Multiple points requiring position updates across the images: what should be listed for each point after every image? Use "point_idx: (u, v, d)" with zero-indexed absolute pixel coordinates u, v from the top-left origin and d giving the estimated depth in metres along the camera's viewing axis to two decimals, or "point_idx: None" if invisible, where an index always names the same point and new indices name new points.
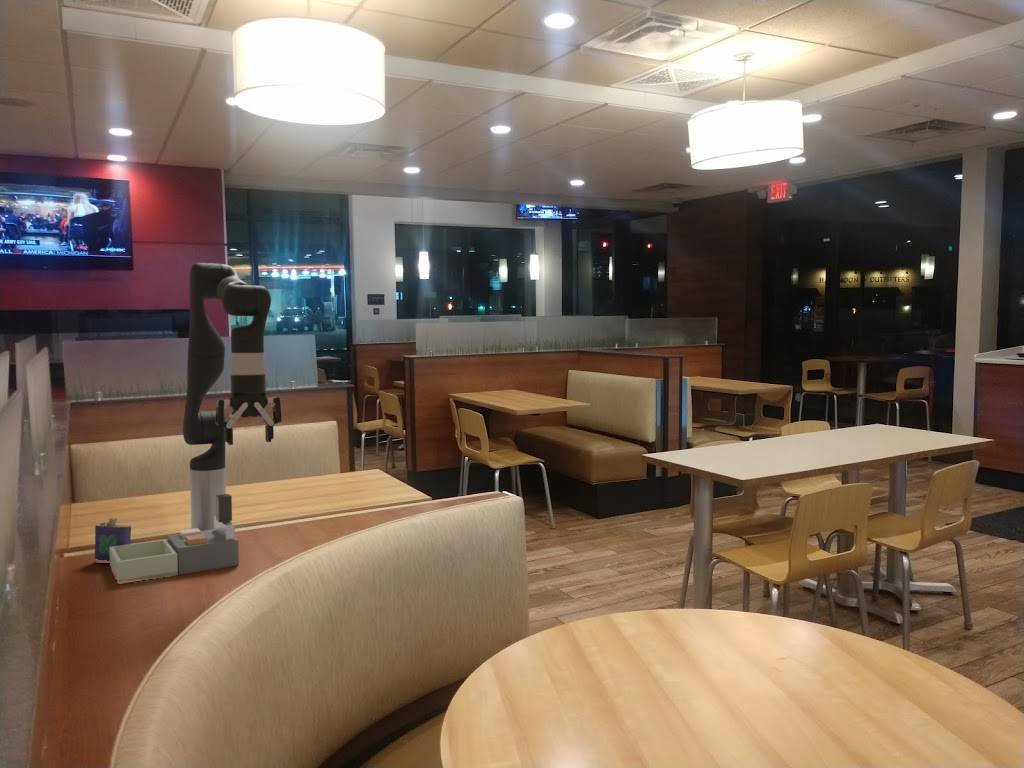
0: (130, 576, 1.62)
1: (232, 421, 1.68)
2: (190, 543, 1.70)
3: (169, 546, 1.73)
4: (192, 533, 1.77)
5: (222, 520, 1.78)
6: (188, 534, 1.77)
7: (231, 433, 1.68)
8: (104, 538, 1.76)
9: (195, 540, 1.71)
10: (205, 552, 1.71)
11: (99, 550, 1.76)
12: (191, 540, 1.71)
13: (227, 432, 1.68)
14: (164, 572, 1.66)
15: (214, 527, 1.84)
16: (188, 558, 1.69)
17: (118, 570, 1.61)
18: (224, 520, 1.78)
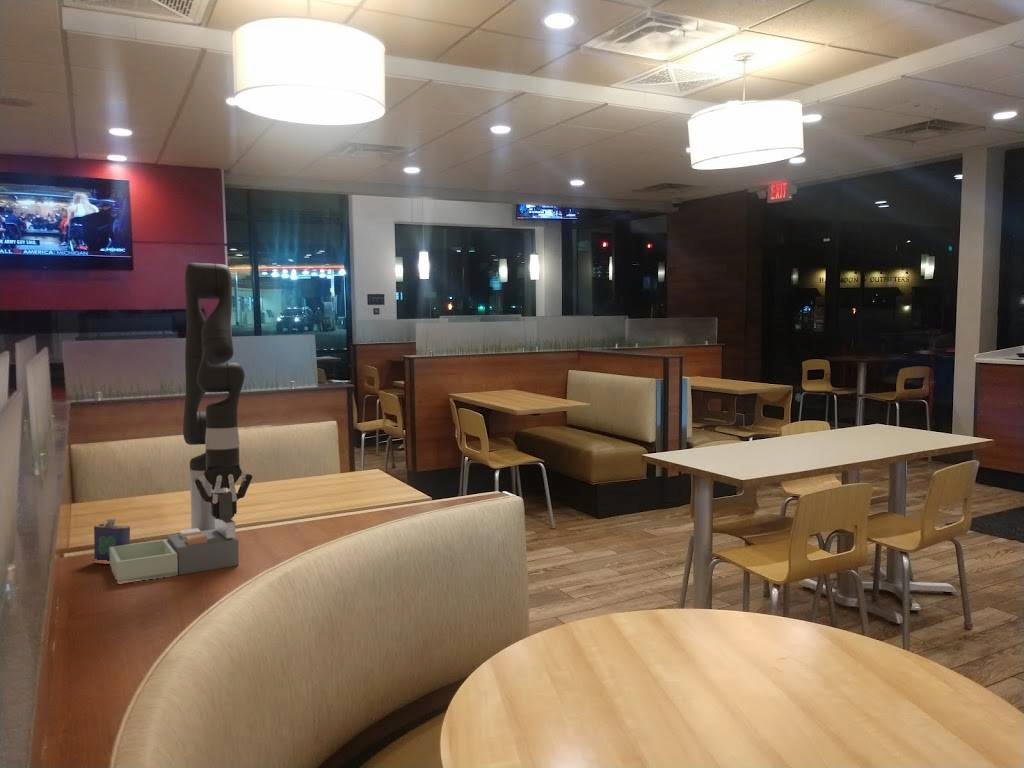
0: (130, 576, 1.62)
1: (216, 496, 1.77)
2: (190, 543, 1.70)
3: (169, 546, 1.73)
4: (192, 533, 1.77)
5: (223, 518, 1.78)
6: (188, 534, 1.77)
7: (217, 508, 1.78)
8: (103, 539, 1.76)
9: (195, 540, 1.71)
10: (205, 552, 1.71)
11: (98, 551, 1.76)
12: (191, 540, 1.71)
13: (213, 507, 1.78)
14: (164, 572, 1.66)
15: None
16: (188, 558, 1.69)
17: (118, 570, 1.61)
18: (225, 518, 1.78)
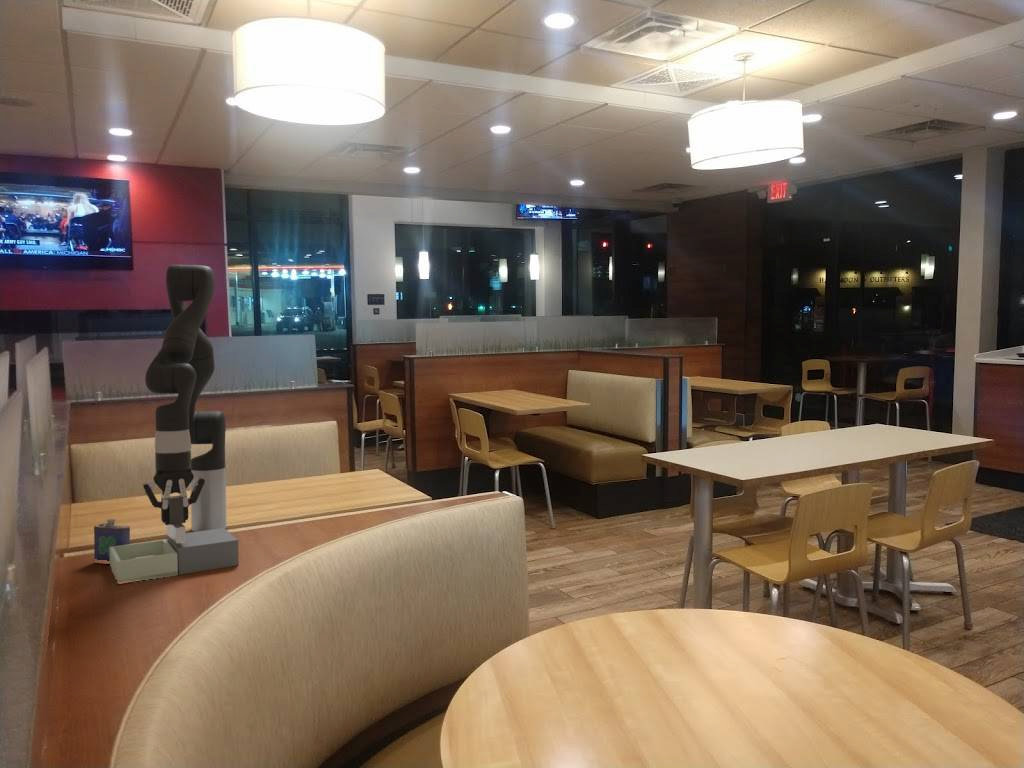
0: (130, 576, 1.62)
1: (166, 501, 1.71)
2: None
3: (169, 546, 1.73)
4: None
5: (173, 523, 1.71)
6: None
7: (167, 513, 1.72)
8: (103, 539, 1.76)
9: None
10: (205, 552, 1.71)
11: (98, 551, 1.76)
12: None
13: (163, 513, 1.71)
14: (164, 572, 1.66)
15: None
16: (188, 558, 1.69)
17: (118, 570, 1.61)
18: (175, 523, 1.72)
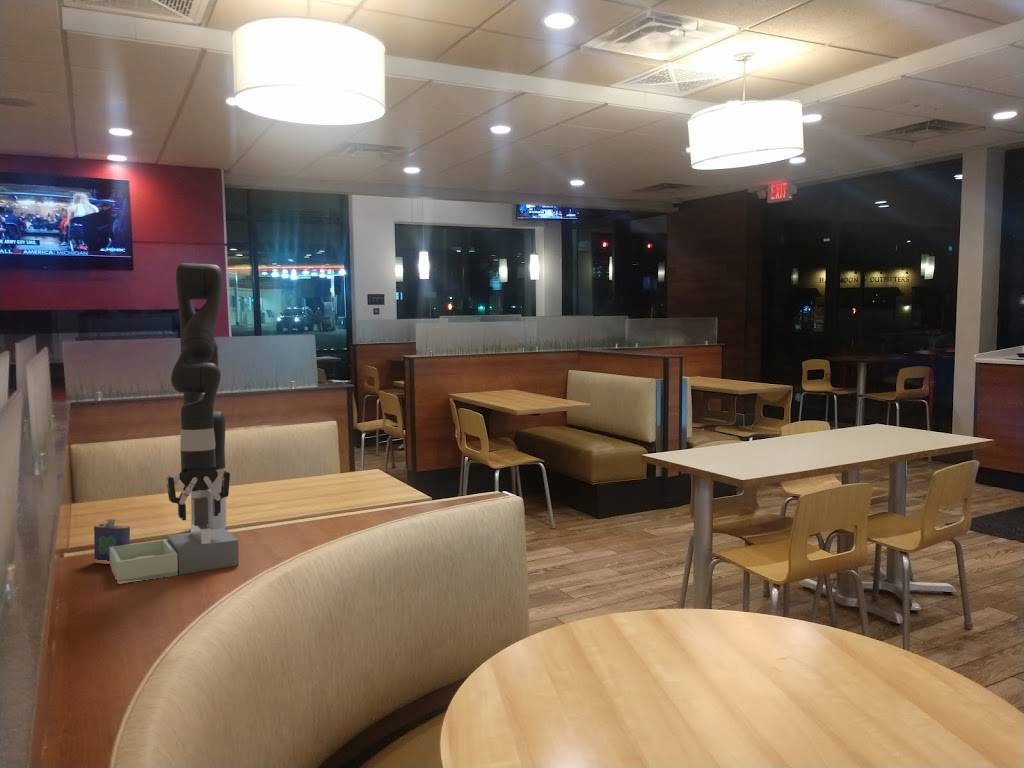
0: (130, 576, 1.62)
1: (184, 497, 1.73)
2: None
3: (169, 546, 1.73)
4: None
5: (198, 524, 1.74)
6: None
7: (184, 509, 1.74)
8: (103, 539, 1.76)
9: None
10: (205, 552, 1.71)
11: (98, 551, 1.76)
12: None
13: (180, 508, 1.73)
14: (164, 572, 1.66)
15: None
16: (188, 558, 1.69)
17: (118, 570, 1.61)
18: (200, 524, 1.75)
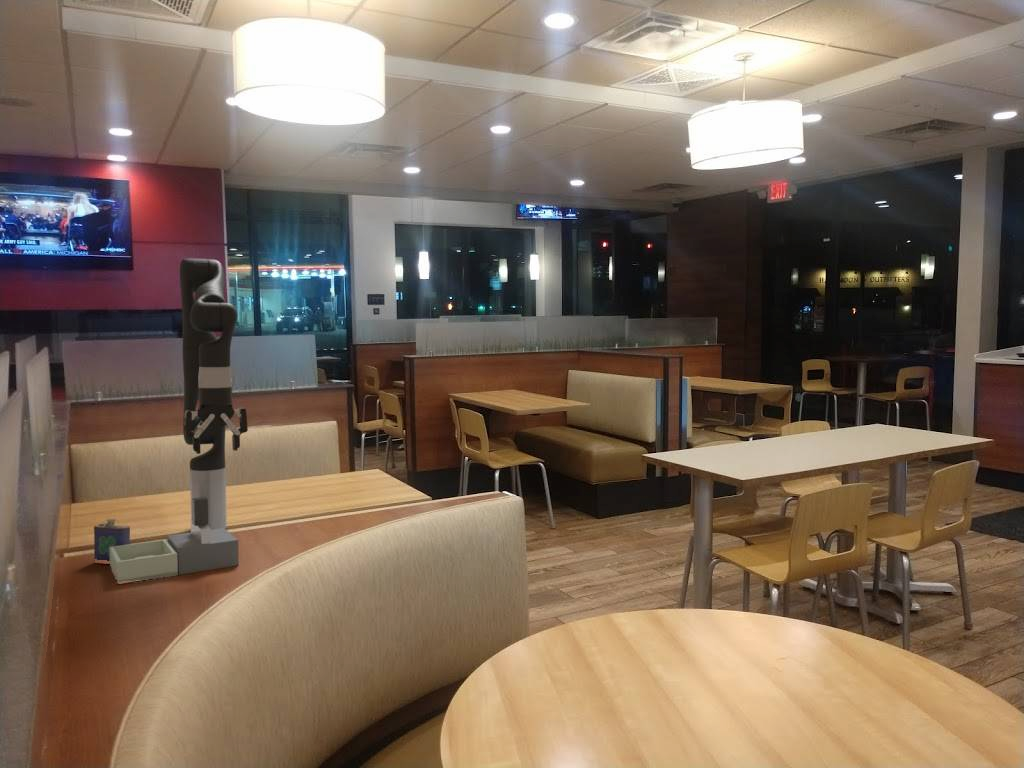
0: (130, 576, 1.62)
1: (199, 431, 1.78)
2: None
3: (169, 546, 1.73)
4: None
5: (198, 524, 1.74)
6: None
7: (198, 442, 1.78)
8: (103, 539, 1.76)
9: None
10: (205, 552, 1.71)
11: (98, 551, 1.76)
12: None
13: (195, 442, 1.78)
14: (164, 572, 1.66)
15: None
16: (188, 558, 1.69)
17: (118, 570, 1.61)
18: (200, 524, 1.75)
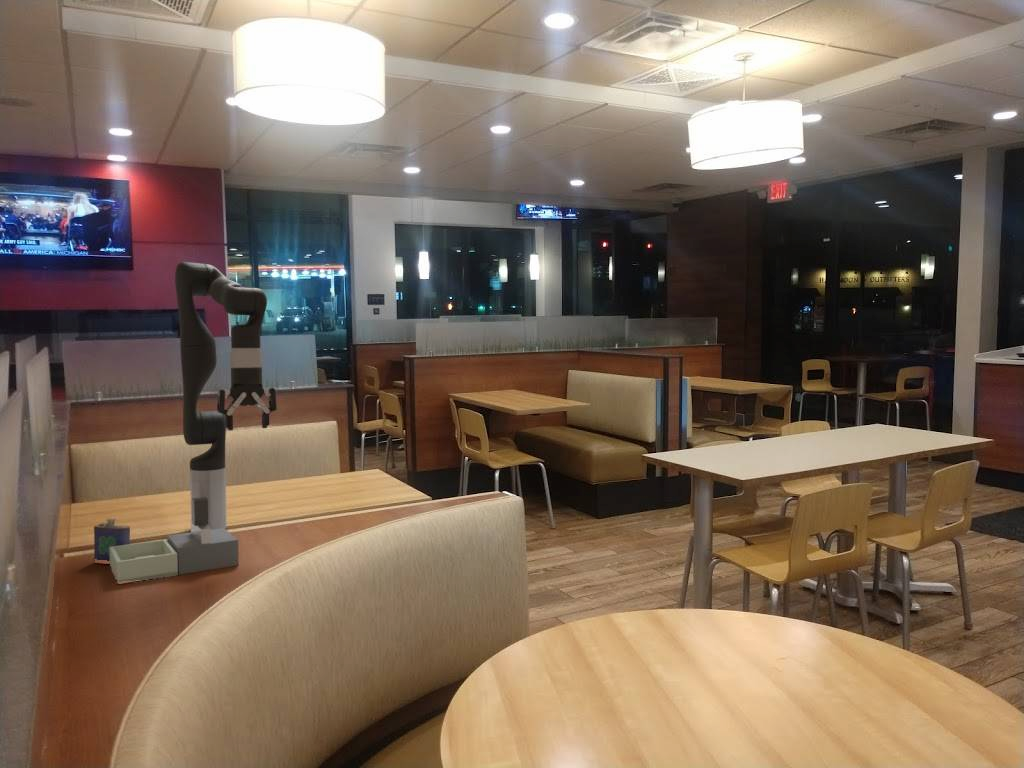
0: (130, 576, 1.62)
1: (232, 409, 1.88)
2: None
3: (169, 546, 1.73)
4: None
5: (198, 524, 1.74)
6: None
7: (231, 420, 1.88)
8: (103, 539, 1.76)
9: None
10: (205, 552, 1.71)
11: (98, 551, 1.76)
12: None
13: (227, 419, 1.88)
14: (164, 572, 1.66)
15: None
16: (188, 558, 1.69)
17: (118, 570, 1.61)
18: (200, 524, 1.75)
